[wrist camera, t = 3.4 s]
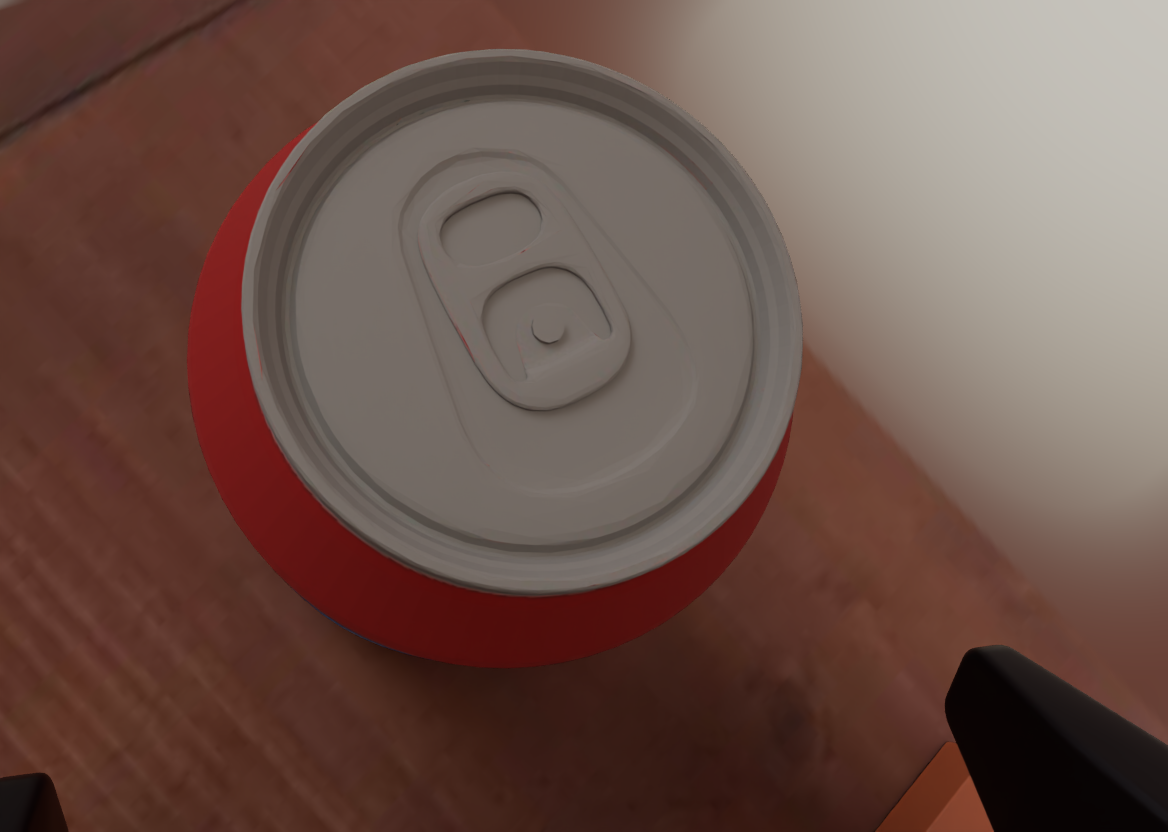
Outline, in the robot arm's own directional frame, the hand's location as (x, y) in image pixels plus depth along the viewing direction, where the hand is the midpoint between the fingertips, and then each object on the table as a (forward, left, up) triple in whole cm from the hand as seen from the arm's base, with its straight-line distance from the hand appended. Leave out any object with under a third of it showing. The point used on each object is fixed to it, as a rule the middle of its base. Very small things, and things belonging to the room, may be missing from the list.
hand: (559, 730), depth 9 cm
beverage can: (+3, -2, -11) cm, 12 cm away
